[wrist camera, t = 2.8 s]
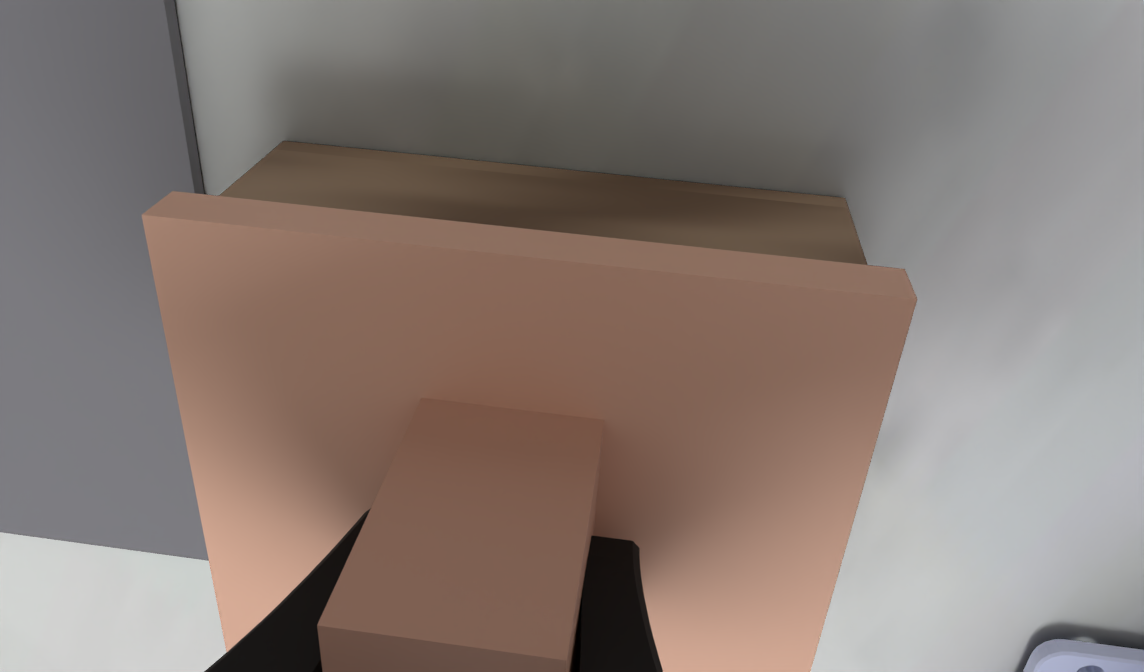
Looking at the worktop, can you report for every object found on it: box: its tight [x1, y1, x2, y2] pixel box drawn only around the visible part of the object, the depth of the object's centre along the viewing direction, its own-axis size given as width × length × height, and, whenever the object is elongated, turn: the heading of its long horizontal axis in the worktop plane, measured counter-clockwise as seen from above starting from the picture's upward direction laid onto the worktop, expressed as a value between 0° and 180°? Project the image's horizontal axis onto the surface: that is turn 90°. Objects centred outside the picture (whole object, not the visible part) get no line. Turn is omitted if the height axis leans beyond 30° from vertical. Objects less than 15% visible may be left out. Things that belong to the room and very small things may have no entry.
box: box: [219, 141, 867, 265], centre depth 16 cm, size 9×9×3 cm
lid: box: [142, 191, 917, 672], centre depth 13 cm, size 10×10×5 cm
